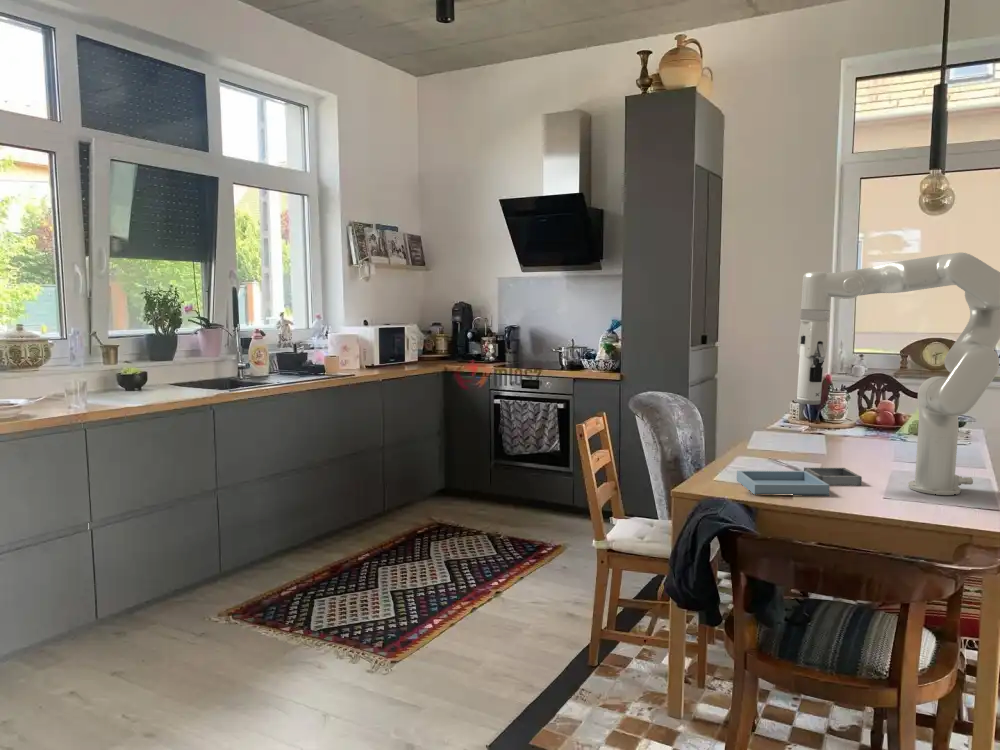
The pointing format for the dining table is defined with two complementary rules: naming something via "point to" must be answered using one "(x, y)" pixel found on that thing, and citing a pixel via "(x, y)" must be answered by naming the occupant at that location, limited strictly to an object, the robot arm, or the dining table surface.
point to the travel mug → (807, 380)
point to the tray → (783, 483)
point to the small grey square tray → (835, 476)
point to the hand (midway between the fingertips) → (810, 379)
